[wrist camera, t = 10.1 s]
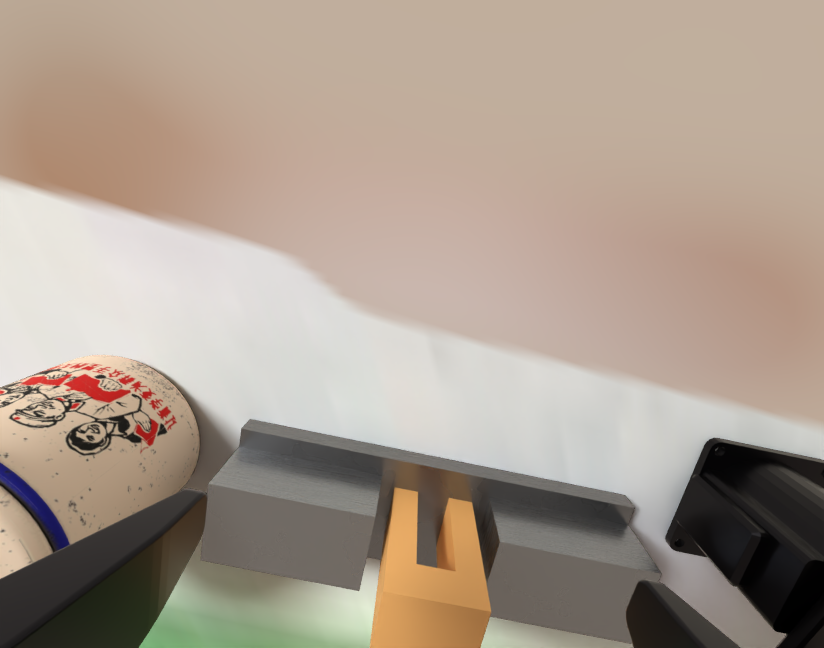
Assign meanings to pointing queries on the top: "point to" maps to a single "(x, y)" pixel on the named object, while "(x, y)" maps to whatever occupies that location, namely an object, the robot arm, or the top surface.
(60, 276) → the top surface
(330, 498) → the rail
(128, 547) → the robot arm
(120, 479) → the teacup with lid
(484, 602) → the clip
